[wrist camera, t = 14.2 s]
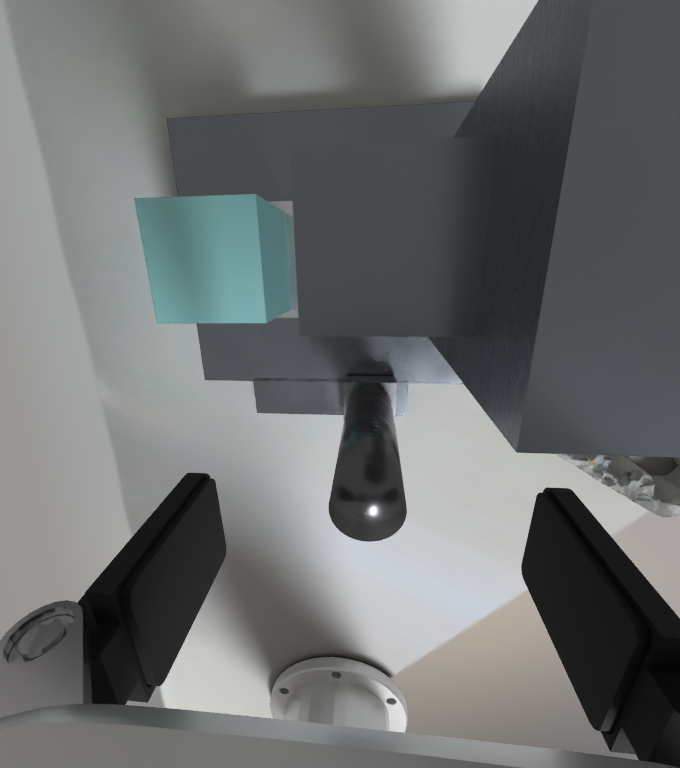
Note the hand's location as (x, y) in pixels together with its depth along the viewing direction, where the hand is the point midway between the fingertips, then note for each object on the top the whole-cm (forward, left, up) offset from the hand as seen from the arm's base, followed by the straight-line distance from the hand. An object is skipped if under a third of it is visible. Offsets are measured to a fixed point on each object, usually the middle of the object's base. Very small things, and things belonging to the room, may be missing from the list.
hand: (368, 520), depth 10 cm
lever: (-1, 0, -11) cm, 12 cm away
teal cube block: (+7, +7, -11) cm, 15 cm away
